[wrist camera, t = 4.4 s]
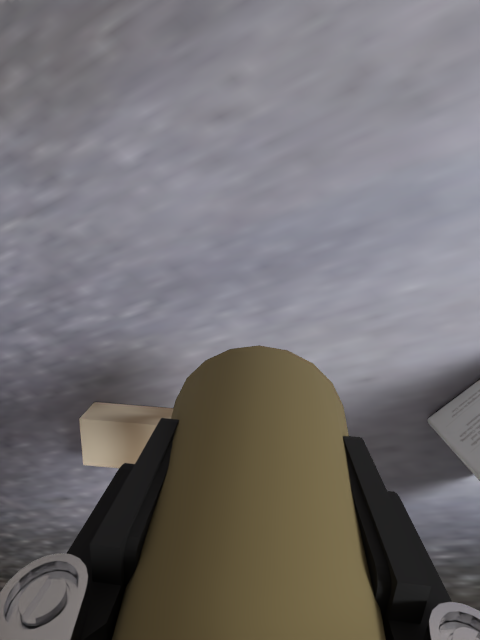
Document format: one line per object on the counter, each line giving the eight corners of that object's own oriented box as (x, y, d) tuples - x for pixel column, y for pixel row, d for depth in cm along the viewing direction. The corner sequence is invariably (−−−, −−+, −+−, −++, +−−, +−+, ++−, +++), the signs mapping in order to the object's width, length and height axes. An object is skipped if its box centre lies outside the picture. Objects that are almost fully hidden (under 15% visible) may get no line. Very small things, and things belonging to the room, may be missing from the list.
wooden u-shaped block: (284, 417, 22) (286, 435, 20) (264, 589, 27) (265, 617, 25) (94, 402, 22) (79, 418, 20) (107, 573, 27) (95, 600, 25)
